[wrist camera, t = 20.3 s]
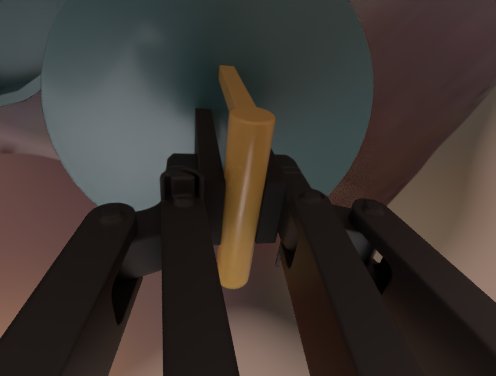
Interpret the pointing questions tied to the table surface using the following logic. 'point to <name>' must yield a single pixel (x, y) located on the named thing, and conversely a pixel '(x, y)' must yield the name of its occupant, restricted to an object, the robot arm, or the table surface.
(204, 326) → the robot arm
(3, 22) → the tin
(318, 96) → the tin lid
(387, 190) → the table surface
